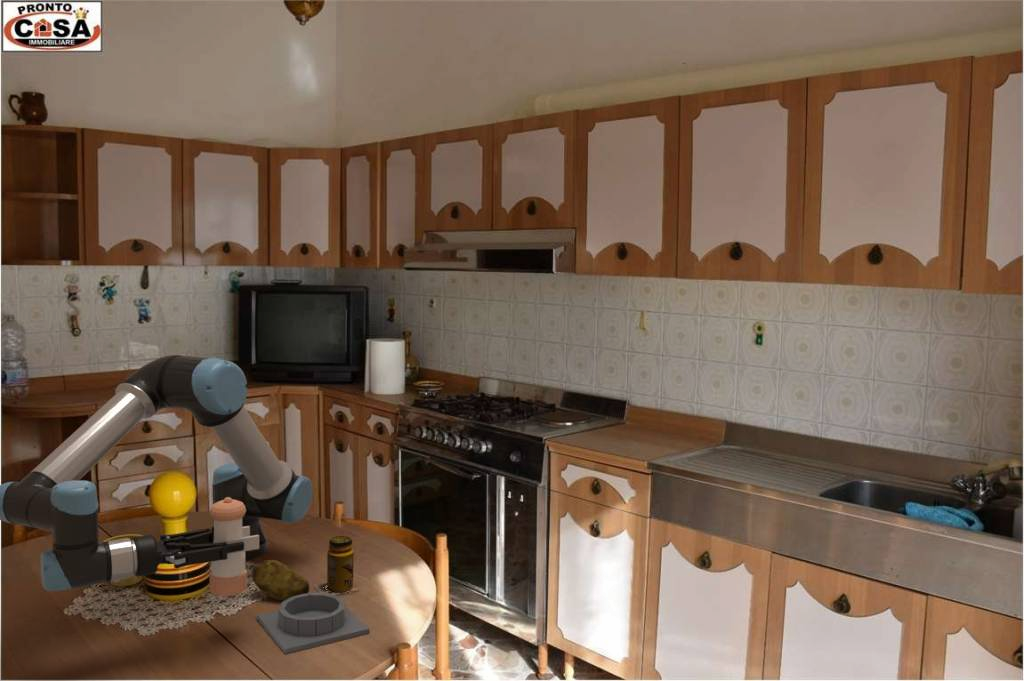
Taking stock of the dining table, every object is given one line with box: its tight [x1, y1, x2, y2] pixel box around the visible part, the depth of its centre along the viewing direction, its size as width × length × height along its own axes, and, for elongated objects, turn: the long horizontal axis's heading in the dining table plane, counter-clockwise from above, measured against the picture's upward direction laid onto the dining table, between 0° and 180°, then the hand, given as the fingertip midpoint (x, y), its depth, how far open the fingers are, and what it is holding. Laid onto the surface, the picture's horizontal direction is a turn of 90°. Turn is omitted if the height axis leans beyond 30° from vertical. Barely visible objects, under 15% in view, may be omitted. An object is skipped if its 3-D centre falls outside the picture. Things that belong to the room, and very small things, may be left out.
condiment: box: [313, 535, 355, 596], centre depth 199 cm, size 7×8×12 cm
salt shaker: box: [209, 497, 248, 597], centre depth 173 cm, size 7×7×19 cm
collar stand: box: [256, 592, 370, 655], centre depth 180 cm, size 18×18×4 cm
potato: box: [251, 559, 310, 602], centre depth 194 cm, size 8×13×8 cm, turn 60°
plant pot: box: [102, 533, 144, 588], centre depth 200 cm, size 10×10×10 cm
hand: (253, 537), depth 176 cm, fingers closed on salt shaker, 5 cm apart
